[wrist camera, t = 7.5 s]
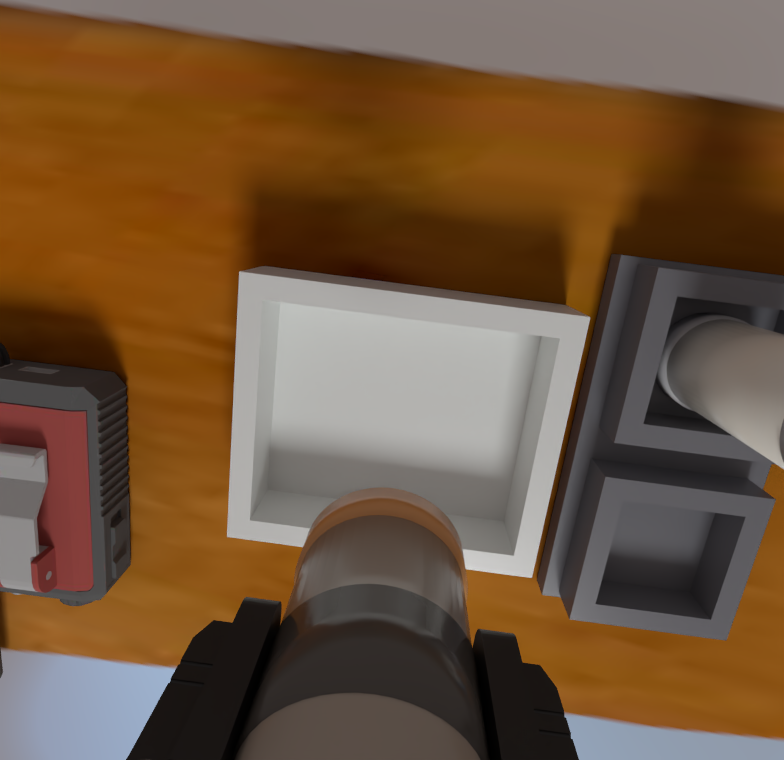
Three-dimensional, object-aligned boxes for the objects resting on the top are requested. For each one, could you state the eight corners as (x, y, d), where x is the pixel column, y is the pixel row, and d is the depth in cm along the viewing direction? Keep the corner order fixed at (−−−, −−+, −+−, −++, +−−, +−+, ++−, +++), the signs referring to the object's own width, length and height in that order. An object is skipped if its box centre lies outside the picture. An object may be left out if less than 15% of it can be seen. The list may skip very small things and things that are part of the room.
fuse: (762, 319, 23) (1005, 381, 14) (734, 410, 24) (939, 526, 15) (665, 306, 23) (839, 359, 14) (642, 398, 25) (787, 506, 15)
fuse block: (611, 253, 24) (640, 256, 21) (813, 279, 24) (871, 286, 21) (537, 580, 29) (551, 622, 26) (706, 602, 29) (741, 647, 25)
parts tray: (566, 305, 25) (590, 317, 21) (517, 535, 28) (531, 577, 25) (263, 265, 25) (239, 271, 21) (250, 499, 28) (227, 536, 25)
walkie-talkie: (-45, 327, 26) (-9, 660, 32) (-134, 346, 22) (-75, 726, 28) (132, 349, 26) (138, 679, 32) (78, 373, 22) (95, 749, 28)
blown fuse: (475, 499, 14) (618, 1145, 4) (450, 636, 15) (514, 1399, 5) (310, 476, 14) (58, 1065, 4) (298, 615, 15) (78, 1333, 5)
